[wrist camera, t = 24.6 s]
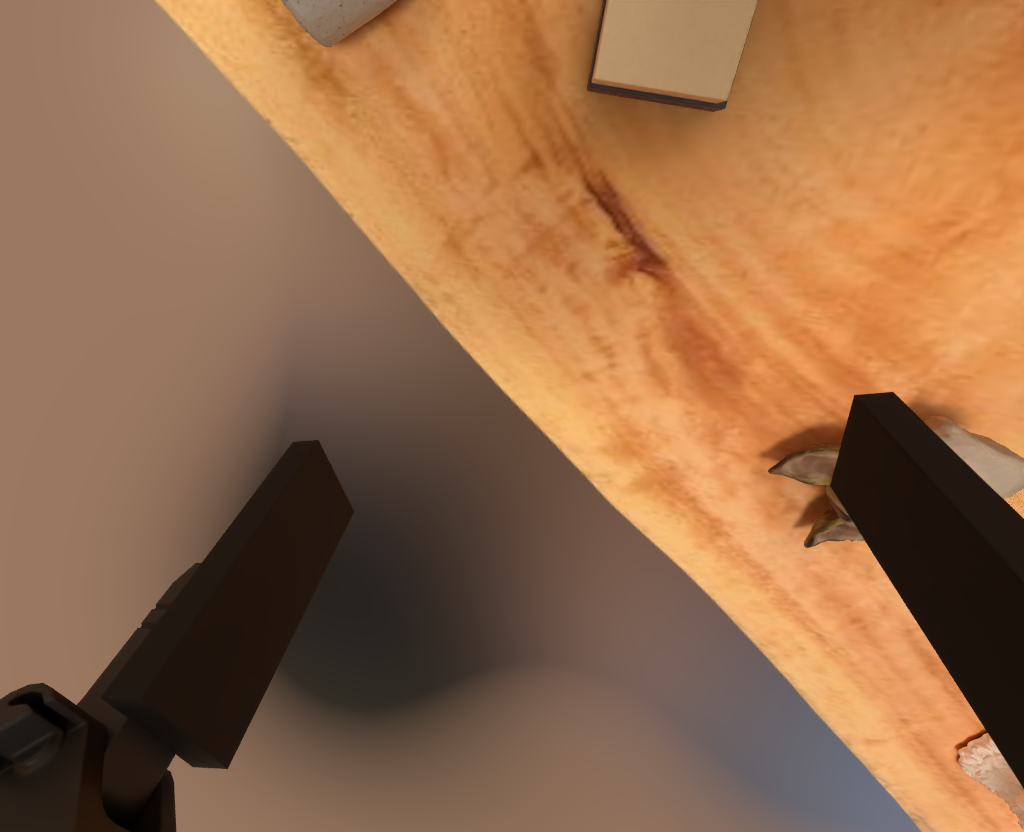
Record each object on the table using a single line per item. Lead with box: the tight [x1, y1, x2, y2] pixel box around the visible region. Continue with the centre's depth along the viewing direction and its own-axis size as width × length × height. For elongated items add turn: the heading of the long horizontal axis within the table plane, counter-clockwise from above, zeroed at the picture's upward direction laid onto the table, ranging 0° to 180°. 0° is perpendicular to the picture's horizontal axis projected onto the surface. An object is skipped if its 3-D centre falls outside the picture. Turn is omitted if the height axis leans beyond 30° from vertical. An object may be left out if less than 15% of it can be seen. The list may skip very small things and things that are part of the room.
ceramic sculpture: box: [768, 416, 1024, 548], centre depth 37 cm, size 11×9×15 cm
